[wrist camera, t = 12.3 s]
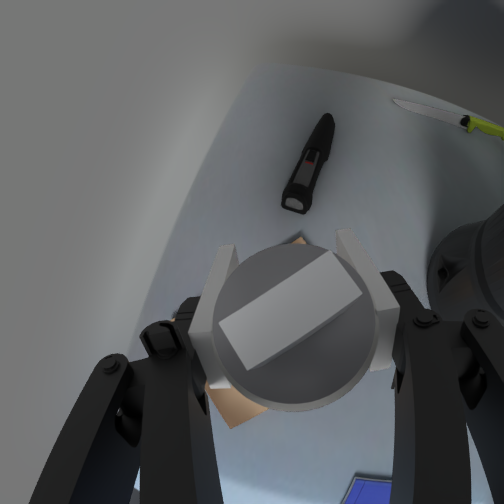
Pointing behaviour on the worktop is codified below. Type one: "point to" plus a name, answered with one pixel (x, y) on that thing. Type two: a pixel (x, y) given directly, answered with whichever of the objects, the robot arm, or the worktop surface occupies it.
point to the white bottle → (294, 327)
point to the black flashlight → (309, 167)
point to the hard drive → (368, 491)
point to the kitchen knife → (453, 118)
